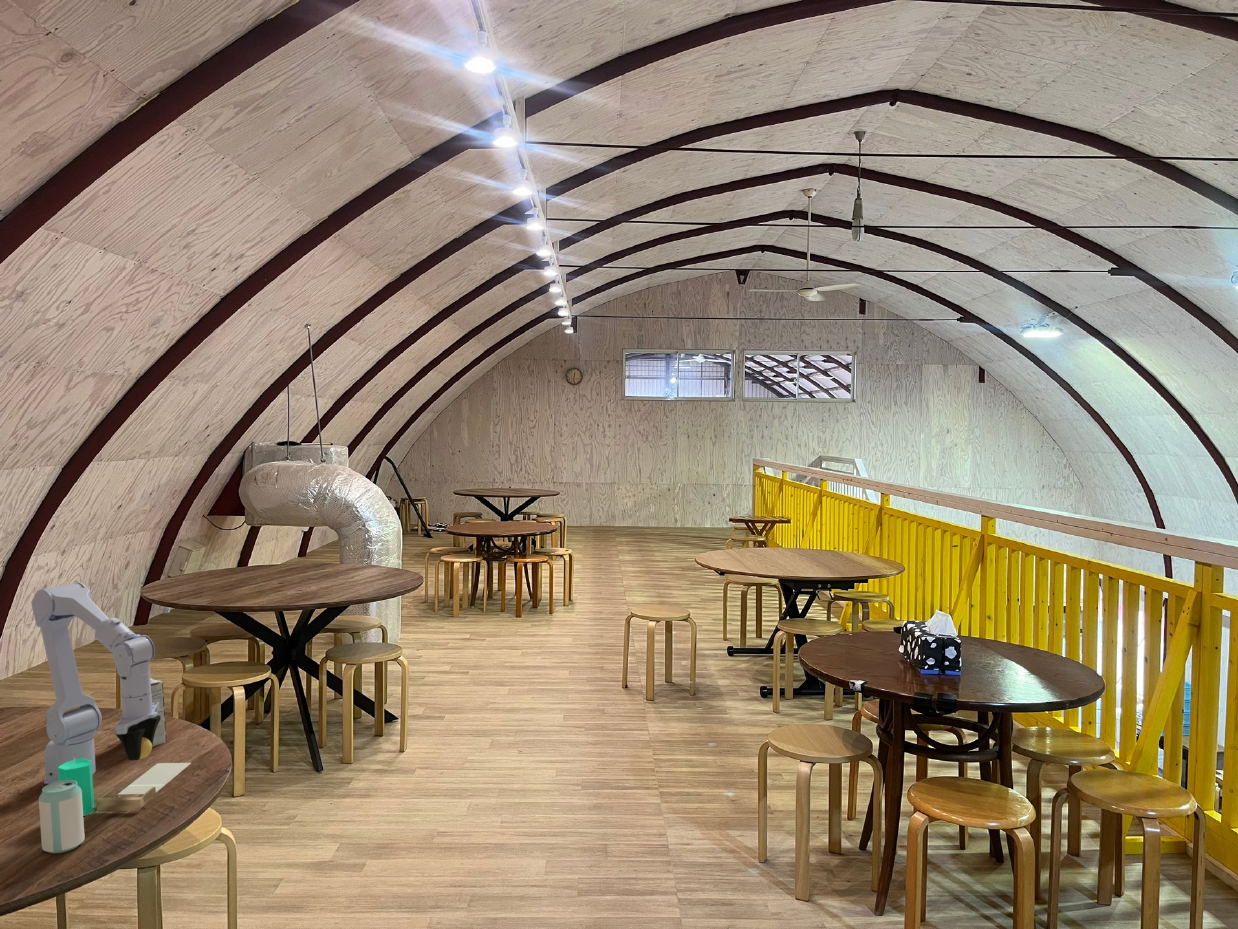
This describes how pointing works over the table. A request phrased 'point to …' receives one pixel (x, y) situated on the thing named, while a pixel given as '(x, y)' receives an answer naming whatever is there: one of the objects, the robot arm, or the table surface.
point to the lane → (155, 778)
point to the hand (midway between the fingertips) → (140, 755)
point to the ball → (145, 747)
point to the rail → (123, 801)
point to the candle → (80, 780)
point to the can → (61, 816)
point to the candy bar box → (159, 698)
